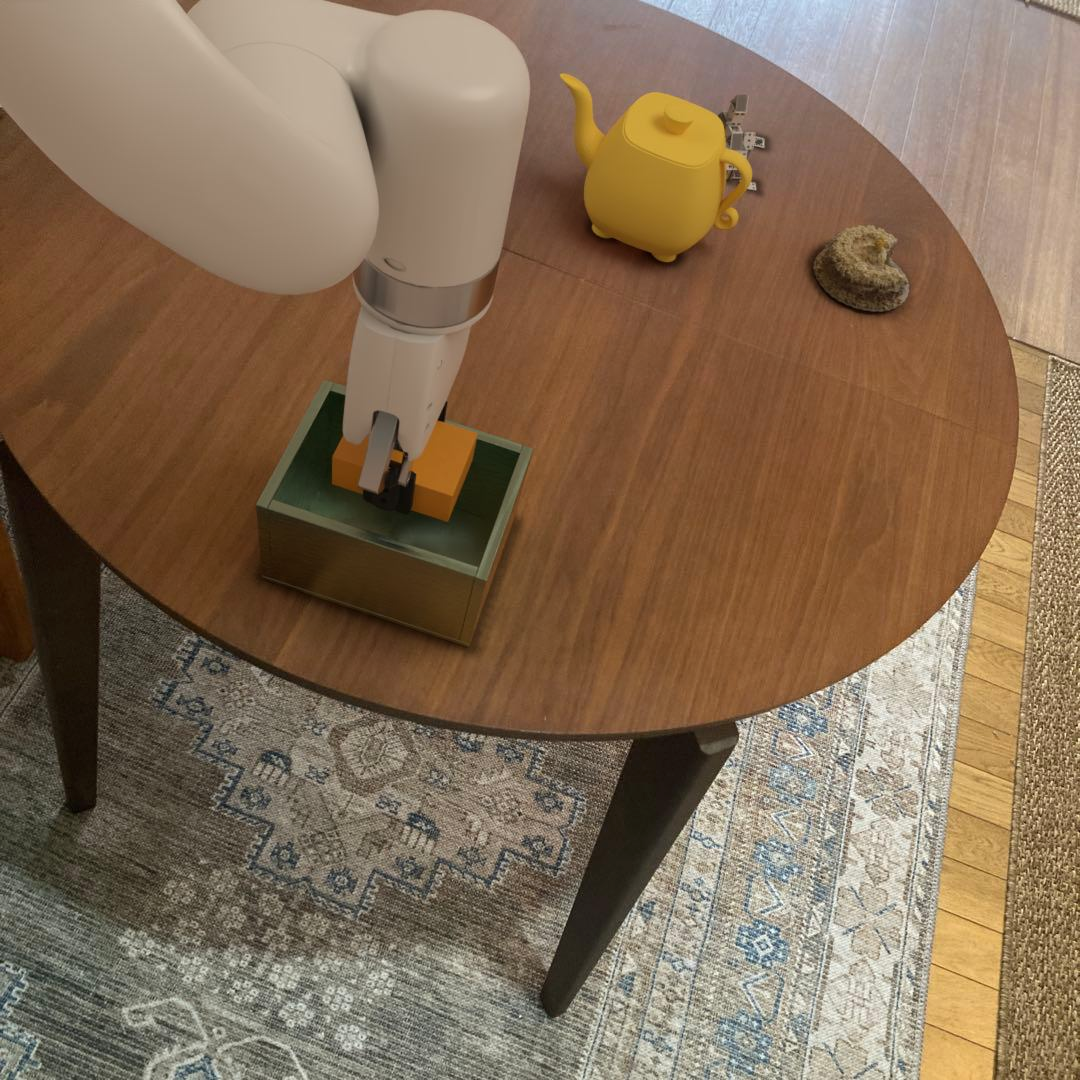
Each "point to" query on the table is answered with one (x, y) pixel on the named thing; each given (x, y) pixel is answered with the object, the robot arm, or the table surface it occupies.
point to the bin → (387, 531)
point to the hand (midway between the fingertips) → (403, 467)
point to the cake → (862, 269)
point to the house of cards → (738, 134)
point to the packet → (418, 468)
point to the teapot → (656, 172)
